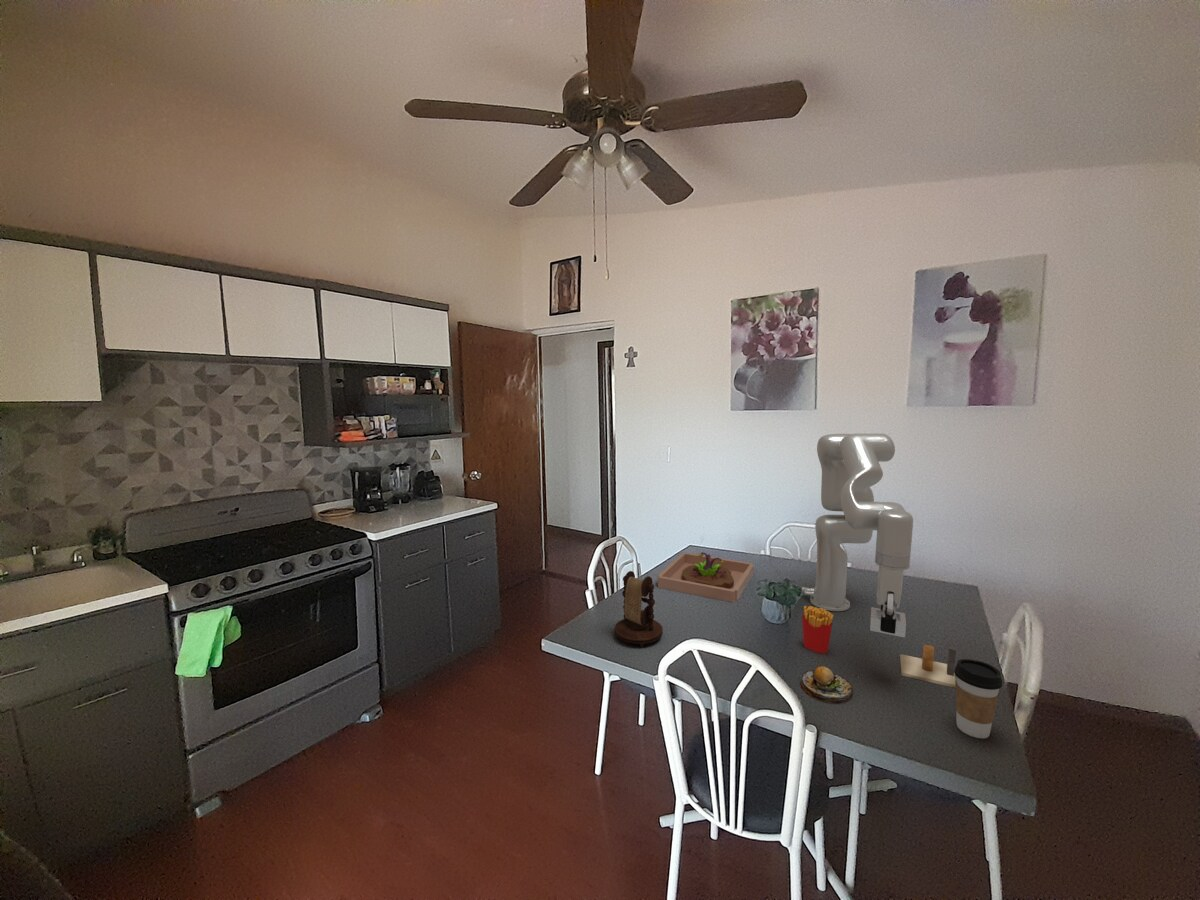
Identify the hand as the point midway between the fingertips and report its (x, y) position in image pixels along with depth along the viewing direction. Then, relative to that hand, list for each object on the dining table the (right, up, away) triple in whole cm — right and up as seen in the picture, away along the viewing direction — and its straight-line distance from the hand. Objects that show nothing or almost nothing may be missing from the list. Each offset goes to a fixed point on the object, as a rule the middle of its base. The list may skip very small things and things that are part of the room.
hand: (887, 624), depth 127 cm
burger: (-16, -16, -1) cm, 23 cm away
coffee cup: (+9, -17, -17) cm, 26 cm away
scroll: (-62, -13, +26) cm, 68 cm away
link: (0, -1, 0) cm, 1 cm away
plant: (-32, -6, +67) cm, 74 cm away
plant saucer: (-32, -6, +67) cm, 75 cm away
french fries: (-11, -13, +17) cm, 24 cm away
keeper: (+13, -14, +5) cm, 20 cm away
